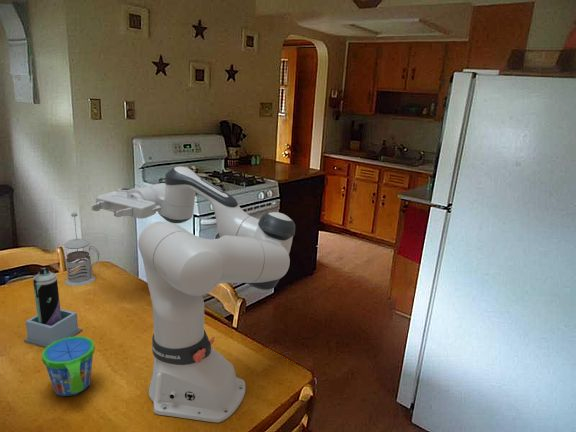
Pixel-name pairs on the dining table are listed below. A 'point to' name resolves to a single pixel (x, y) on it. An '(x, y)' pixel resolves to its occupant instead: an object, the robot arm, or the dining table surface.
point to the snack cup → (69, 364)
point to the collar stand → (52, 329)
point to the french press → (85, 272)
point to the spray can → (47, 297)
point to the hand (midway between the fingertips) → (104, 211)
